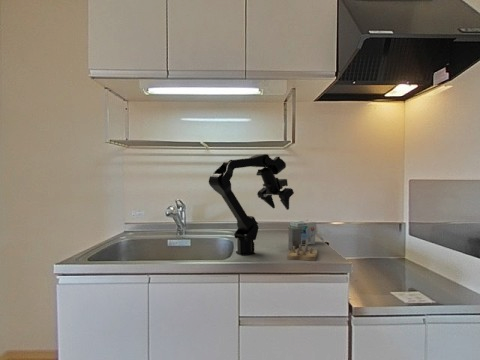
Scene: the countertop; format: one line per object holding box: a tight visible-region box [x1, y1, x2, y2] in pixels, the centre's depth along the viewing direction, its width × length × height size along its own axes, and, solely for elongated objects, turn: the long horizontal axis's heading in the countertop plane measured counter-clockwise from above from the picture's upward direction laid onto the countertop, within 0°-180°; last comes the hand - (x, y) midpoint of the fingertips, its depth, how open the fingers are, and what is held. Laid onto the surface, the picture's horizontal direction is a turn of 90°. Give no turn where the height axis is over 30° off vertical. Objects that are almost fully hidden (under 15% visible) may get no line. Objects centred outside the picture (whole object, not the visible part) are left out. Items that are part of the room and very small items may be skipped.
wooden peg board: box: [286, 244, 318, 261], centre depth 152 cm, size 11×12×4 cm
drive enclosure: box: [287, 226, 301, 251], centre depth 164 cm, size 4×5×10 cm
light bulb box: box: [289, 219, 316, 246], centre depth 179 cm, size 11×7×11 cm, turn 115°
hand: (281, 208), depth 172 cm, fingers open, 9 cm apart
